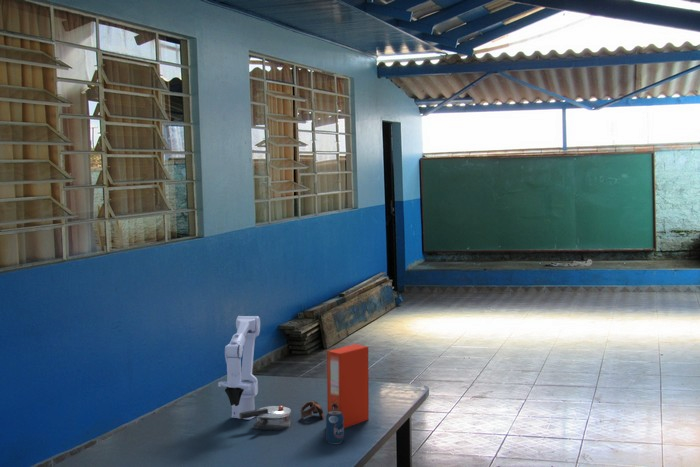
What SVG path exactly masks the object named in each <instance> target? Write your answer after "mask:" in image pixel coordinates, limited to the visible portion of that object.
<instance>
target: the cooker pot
mask: <svg viewBox="0 0 700 467" xmlns="http://www.w3.org/2000/svg"><path fill="white" fill-rule="evenodd" d="M287 427H288V428H290V427H291V414H290V415H289V416H287V417H283V418H277V419H265V418H260V417H258V416H256V422H255V423H254V424H253V429H259V428H260V430H262V429H263V431H270V430H273V431H281V430H280V429H282V430H285V429H287ZM284 428H285V429H284Z"/></svg>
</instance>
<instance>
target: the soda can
mask: <svg viewBox="0 0 700 467" xmlns="http://www.w3.org/2000/svg"><path fill="white" fill-rule="evenodd" d="M325 424H326V425H325V426H326V429H325V430H326V431H325V432H326V433H325V434H326V437H325V438H326V441H327V442H328V444H333V445H339V444H341V443H342V442H343V441H344V439H345V430H344V429H345V428H344V416H343V414H342V411H340V410H331V411H328V410H327V414H326V415H325Z"/></svg>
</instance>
